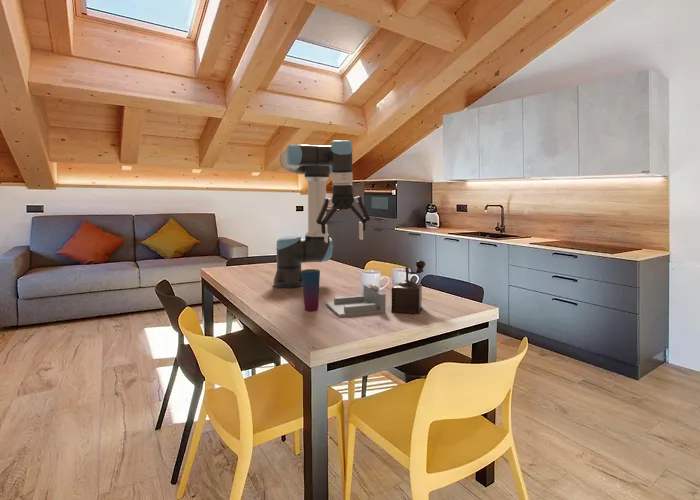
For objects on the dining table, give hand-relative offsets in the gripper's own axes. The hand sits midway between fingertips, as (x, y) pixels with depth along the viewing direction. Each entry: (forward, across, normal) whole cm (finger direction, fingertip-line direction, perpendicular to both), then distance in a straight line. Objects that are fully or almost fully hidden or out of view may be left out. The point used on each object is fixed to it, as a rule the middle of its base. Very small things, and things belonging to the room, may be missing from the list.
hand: (343, 240), depth 158 cm
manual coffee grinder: (+27, +23, -10) cm, 36 cm away
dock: (+26, +2, -5) cm, 26 cm away
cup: (+26, -14, -2) cm, 29 cm away
